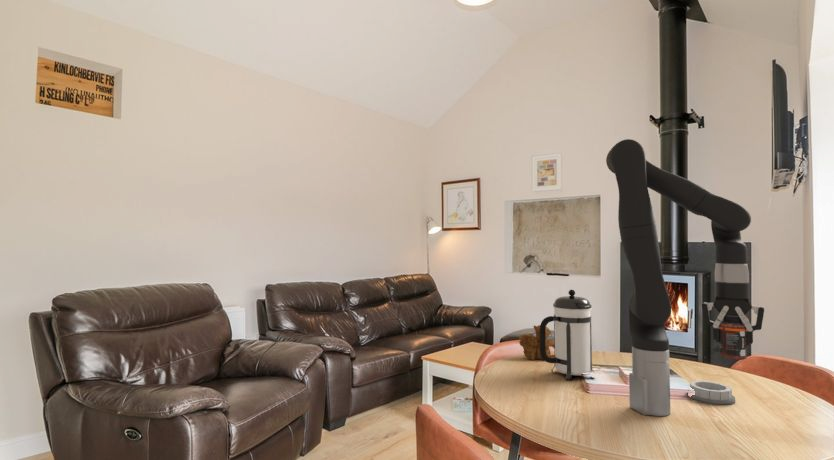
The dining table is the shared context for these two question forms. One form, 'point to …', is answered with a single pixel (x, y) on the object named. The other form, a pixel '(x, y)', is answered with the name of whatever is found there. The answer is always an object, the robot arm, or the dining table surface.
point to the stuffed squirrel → (536, 344)
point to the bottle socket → (712, 393)
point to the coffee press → (570, 336)
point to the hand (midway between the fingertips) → (732, 343)
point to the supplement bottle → (732, 338)
